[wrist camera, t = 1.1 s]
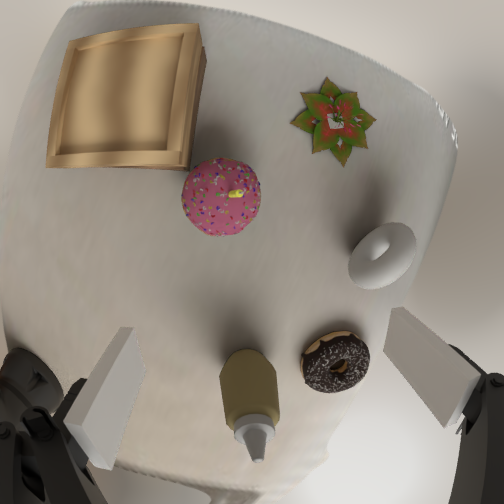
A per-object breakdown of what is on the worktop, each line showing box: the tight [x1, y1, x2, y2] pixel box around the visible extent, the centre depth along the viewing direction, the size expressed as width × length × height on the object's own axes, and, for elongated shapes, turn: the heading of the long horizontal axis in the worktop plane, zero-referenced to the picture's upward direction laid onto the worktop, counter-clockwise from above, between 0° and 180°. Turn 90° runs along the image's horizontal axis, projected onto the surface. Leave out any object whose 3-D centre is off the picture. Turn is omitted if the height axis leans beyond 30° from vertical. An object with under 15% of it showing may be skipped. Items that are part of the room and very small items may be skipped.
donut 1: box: [301, 331, 370, 393], centre depth 40 cm, size 11×12×4 cm
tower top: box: [46, 23, 202, 168], centre depth 23 cm, size 15×15×5 cm
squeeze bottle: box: [219, 349, 280, 463], centre depth 31 cm, size 8×8×18 cm
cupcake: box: [181, 158, 261, 237], centre depth 28 cm, size 9×8×12 cm
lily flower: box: [290, 78, 376, 167], centre depth 31 cm, size 12×12×5 cm
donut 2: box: [348, 222, 416, 289], centre depth 32 cm, size 10×3×10 cm, turn 136°
